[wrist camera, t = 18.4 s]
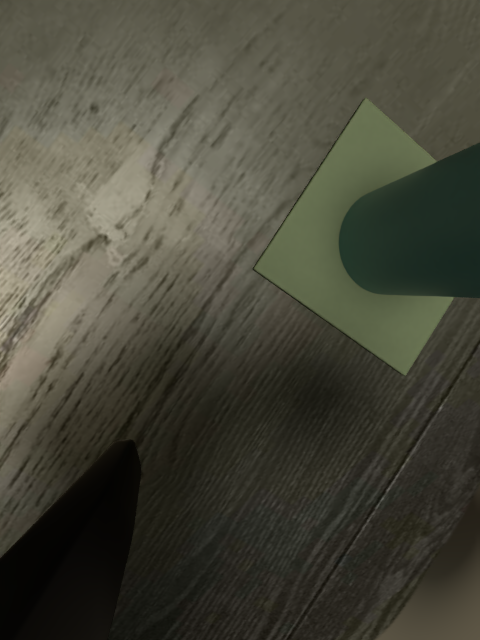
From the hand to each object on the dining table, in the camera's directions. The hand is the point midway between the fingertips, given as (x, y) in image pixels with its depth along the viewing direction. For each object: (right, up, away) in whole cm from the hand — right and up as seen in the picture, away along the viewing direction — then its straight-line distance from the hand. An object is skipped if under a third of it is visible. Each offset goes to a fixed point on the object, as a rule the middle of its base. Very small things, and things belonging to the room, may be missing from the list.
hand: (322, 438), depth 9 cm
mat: (+6, +7, +12) cm, 16 cm away
